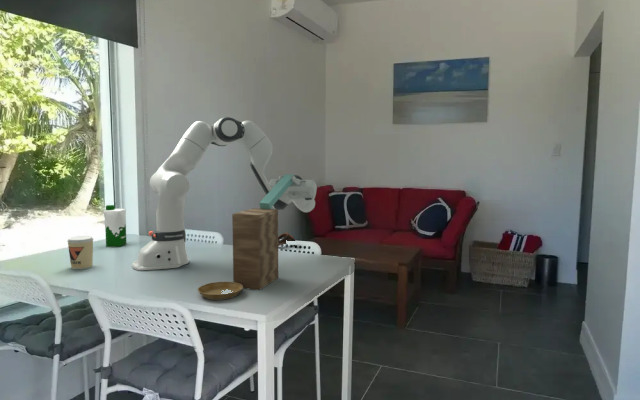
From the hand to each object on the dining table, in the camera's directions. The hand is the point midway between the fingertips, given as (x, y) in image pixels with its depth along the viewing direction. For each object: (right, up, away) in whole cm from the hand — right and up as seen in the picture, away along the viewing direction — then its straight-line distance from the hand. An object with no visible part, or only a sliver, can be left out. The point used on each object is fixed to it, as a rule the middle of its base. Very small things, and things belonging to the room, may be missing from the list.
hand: (286, 177), depth 192 cm
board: (-3, -7, -7) cm, 10 cm away
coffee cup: (-84, -37, -1) cm, 91 cm away
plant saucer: (-19, -41, -36) cm, 58 cm away
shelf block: (-9, -39, -22) cm, 46 cm away
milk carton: (-88, -32, +40) cm, 102 cm away
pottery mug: (-3, -33, +38) cm, 50 cm away
